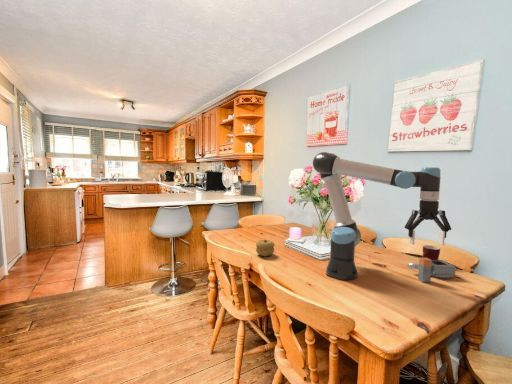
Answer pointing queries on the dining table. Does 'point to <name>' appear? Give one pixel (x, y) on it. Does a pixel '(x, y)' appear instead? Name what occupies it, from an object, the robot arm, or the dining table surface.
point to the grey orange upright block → (424, 270)
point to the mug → (431, 252)
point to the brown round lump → (265, 247)
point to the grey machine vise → (438, 269)
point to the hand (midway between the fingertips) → (426, 244)
